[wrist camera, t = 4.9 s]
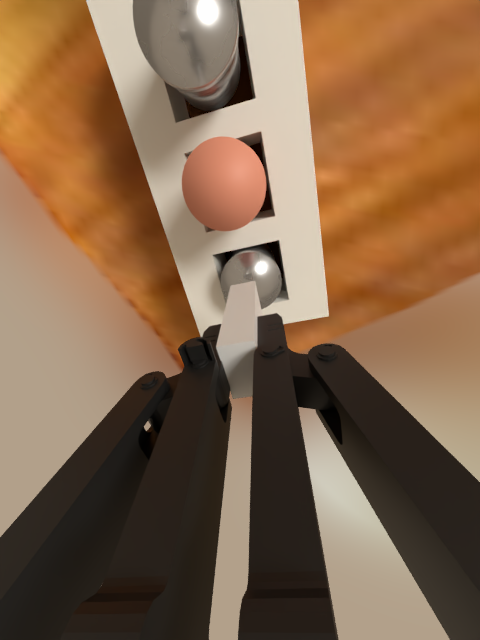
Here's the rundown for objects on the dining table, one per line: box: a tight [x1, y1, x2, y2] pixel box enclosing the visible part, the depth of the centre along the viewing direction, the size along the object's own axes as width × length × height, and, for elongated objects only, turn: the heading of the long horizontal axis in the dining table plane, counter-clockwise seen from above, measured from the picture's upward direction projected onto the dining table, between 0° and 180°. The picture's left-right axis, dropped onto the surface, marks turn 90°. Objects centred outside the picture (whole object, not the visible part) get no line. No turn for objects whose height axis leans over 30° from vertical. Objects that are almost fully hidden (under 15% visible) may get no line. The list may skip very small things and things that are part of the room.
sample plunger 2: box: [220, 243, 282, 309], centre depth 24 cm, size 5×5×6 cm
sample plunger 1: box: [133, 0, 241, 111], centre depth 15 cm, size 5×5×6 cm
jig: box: [86, 0, 329, 337], centre depth 22 cm, size 24×12×6 cm, turn 13°
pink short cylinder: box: [182, 136, 266, 231], centre depth 18 cm, size 5×5×6 cm
